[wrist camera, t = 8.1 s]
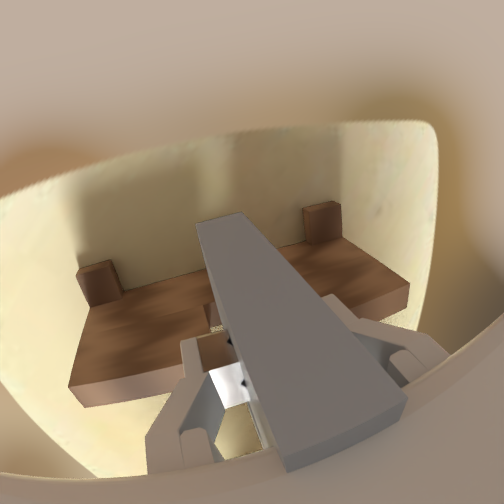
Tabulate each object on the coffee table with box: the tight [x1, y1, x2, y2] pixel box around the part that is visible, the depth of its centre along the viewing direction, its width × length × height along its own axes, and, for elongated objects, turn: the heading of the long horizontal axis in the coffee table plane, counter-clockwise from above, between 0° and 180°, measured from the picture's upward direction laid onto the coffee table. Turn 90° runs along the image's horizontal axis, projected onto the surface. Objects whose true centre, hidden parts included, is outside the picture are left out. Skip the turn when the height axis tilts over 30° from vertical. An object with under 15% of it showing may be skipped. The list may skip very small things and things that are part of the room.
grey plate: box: [195, 212, 408, 473], centre depth 11 cm, size 16×2×10 cm, turn 10°
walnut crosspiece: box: [68, 201, 410, 408], centre depth 20 cm, size 22×8×10 cm, turn 100°
